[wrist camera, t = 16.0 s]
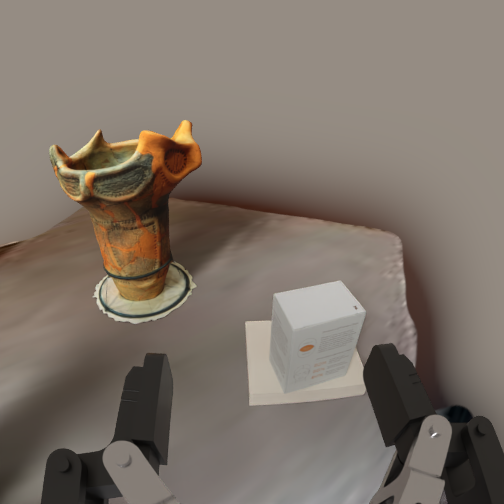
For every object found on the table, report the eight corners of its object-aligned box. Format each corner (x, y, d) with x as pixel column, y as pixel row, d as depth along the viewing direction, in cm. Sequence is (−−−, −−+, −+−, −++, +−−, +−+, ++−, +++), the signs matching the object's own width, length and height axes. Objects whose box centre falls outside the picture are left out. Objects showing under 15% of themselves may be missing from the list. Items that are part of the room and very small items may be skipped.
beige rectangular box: (249, 405, 34) (249, 394, 33) (245, 334, 44) (245, 321, 43) (363, 394, 35) (369, 383, 33) (340, 329, 45) (344, 316, 44)
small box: (326, 345, 39) (341, 278, 34) (346, 376, 34) (369, 310, 29) (267, 359, 37) (272, 291, 32) (283, 395, 33) (293, 329, 27)
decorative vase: (103, 252, 62) (87, 116, 47) (210, 260, 62) (214, 112, 48) (57, 319, 44) (13, 146, 29) (192, 339, 44) (185, 136, 30)
